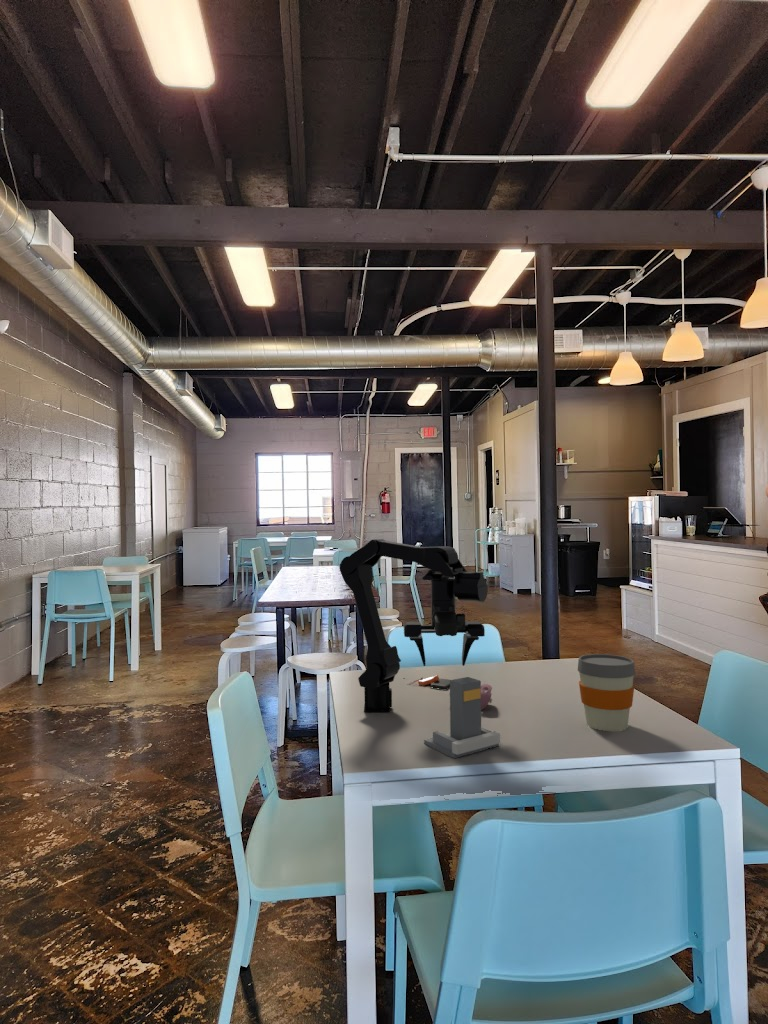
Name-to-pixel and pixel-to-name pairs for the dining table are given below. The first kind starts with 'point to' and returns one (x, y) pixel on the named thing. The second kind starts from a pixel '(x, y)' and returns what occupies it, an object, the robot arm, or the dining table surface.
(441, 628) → the robot arm
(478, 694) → the block
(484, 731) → the rail plate
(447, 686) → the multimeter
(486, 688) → the video game controller
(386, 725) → the dining table surface
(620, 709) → the reusable coffee cup
